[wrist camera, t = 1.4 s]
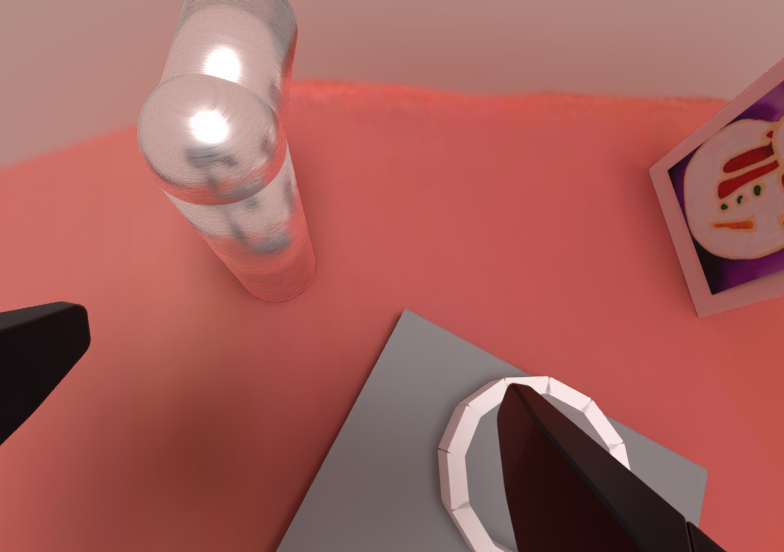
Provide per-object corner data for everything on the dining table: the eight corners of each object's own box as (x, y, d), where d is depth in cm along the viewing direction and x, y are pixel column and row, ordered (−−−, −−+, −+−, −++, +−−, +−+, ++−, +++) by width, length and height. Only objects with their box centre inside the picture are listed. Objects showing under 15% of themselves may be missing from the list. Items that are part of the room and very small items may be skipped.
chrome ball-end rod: (312, 303, 22) (263, 167, 10) (233, 300, 22) (82, 154, 10) (323, 184, 25) (296, -38, 13) (253, 179, 25) (156, -55, 12)
